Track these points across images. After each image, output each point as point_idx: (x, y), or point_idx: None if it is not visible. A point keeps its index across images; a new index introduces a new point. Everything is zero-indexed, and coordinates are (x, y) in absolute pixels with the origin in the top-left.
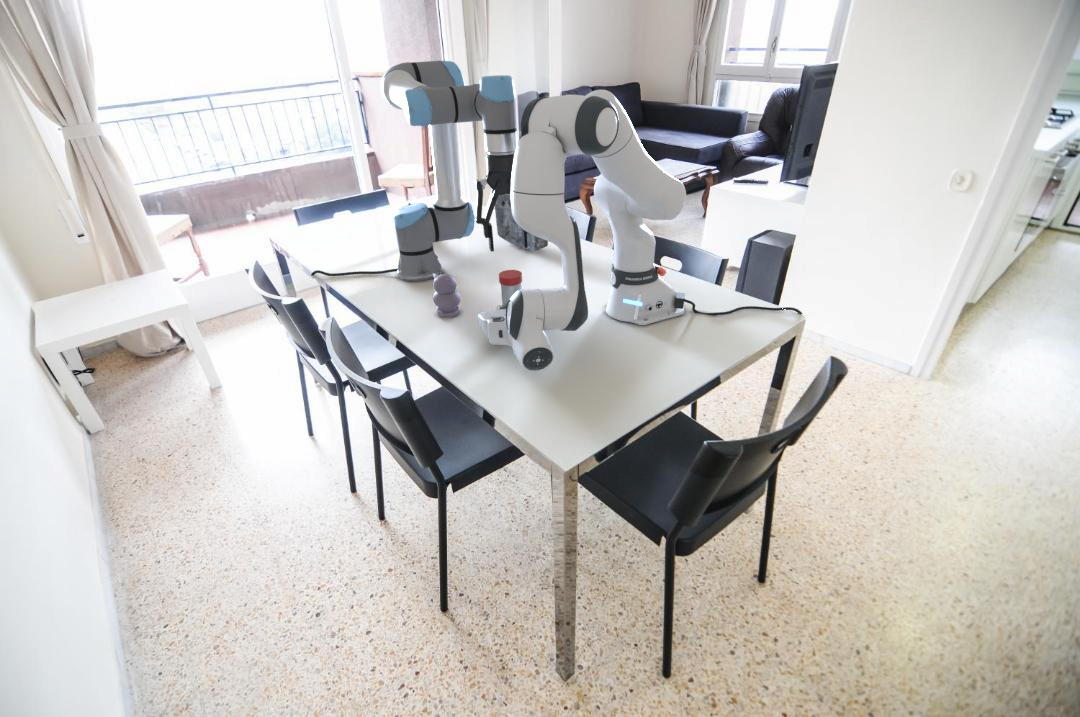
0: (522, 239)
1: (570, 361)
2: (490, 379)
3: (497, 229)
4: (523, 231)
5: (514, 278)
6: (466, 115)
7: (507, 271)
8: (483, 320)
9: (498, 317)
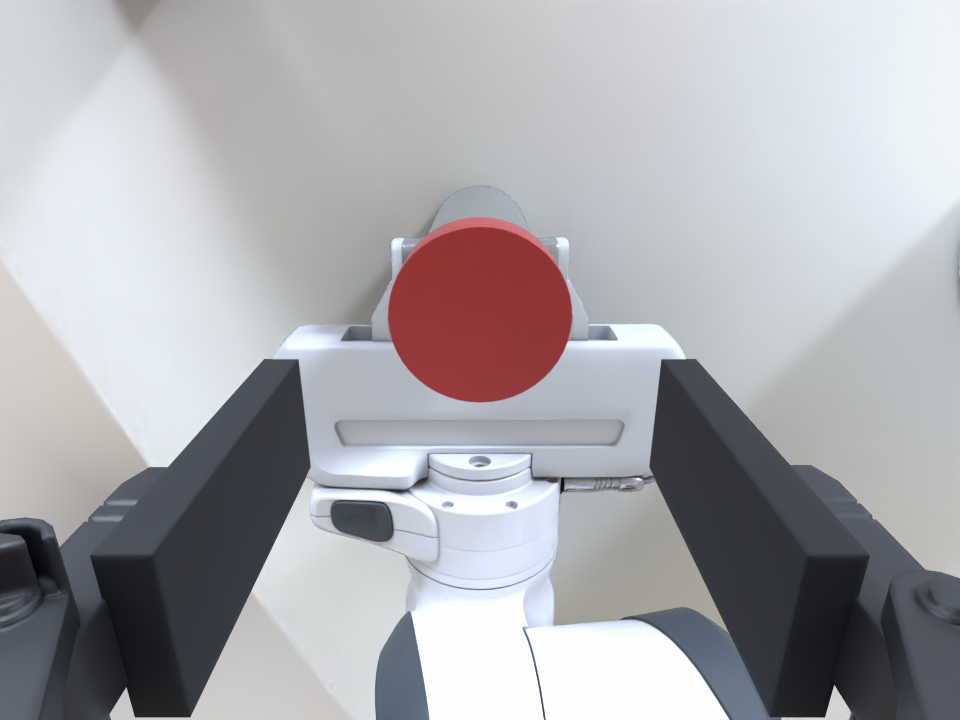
0: (678, 407)
1: (621, 538)
2: (332, 562)
3: None
4: (712, 566)
5: (493, 401)
6: None
7: (468, 258)
8: None
9: (364, 505)
